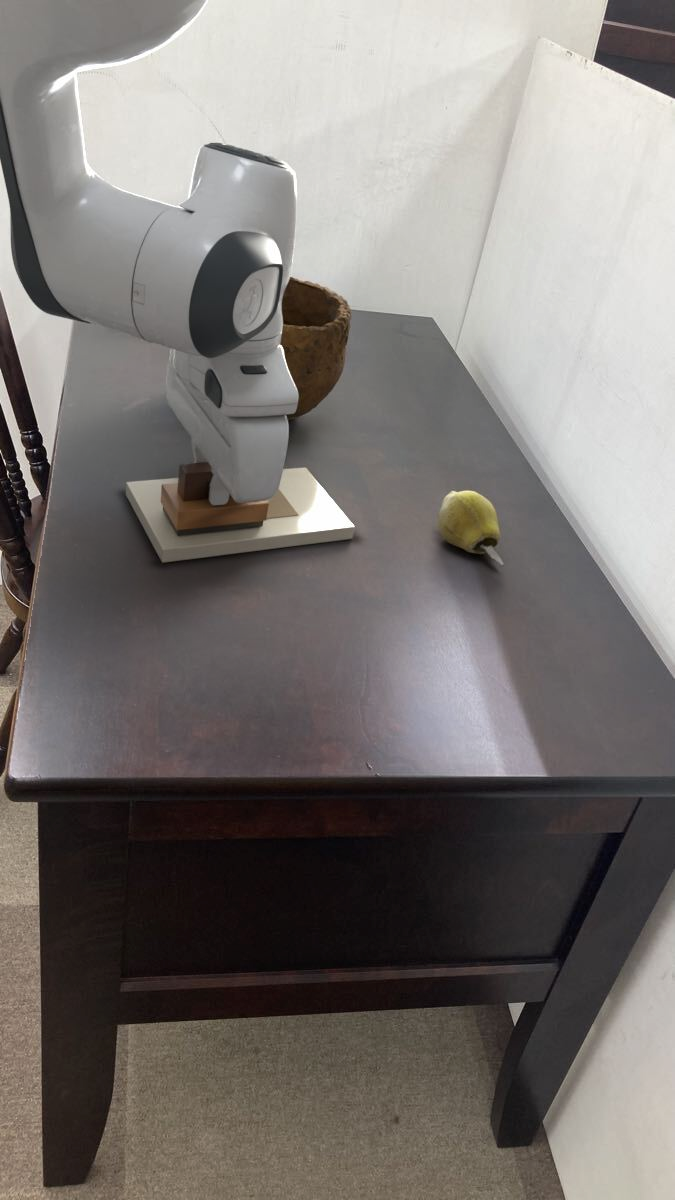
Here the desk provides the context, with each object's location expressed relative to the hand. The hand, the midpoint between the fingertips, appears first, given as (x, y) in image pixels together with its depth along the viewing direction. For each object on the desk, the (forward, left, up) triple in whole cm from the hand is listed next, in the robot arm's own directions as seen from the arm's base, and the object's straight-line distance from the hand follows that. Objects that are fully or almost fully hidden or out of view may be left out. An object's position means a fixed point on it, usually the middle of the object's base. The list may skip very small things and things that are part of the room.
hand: (210, 492), depth 84 cm
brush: (+1, 0, -3) cm, 3 cm away
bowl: (+15, +24, -5) cm, 29 cm away
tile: (+4, +2, -5) cm, 7 cm away
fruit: (+26, -8, -5) cm, 28 cm away
